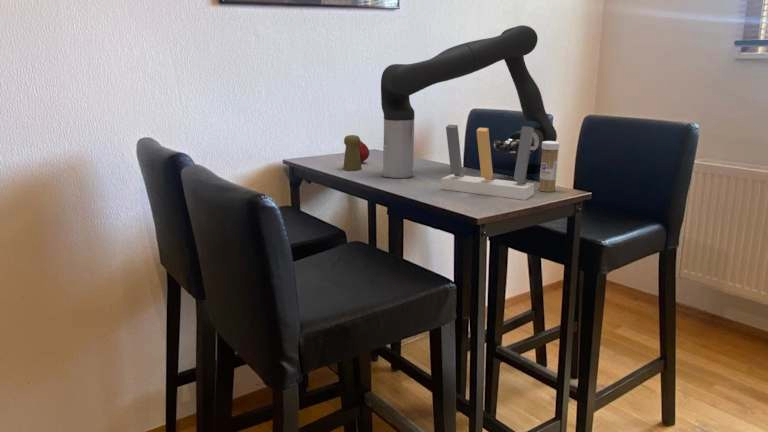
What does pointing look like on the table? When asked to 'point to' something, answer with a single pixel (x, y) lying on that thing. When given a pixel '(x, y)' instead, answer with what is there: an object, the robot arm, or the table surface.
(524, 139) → the lever right
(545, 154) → the sprinkles bottle
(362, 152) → the red oval lump
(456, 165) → the lever left
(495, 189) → the lever base
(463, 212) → the table surface
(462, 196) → the table surface
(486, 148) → the lever middle
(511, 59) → the robot arm
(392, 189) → the table surface
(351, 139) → the cork
